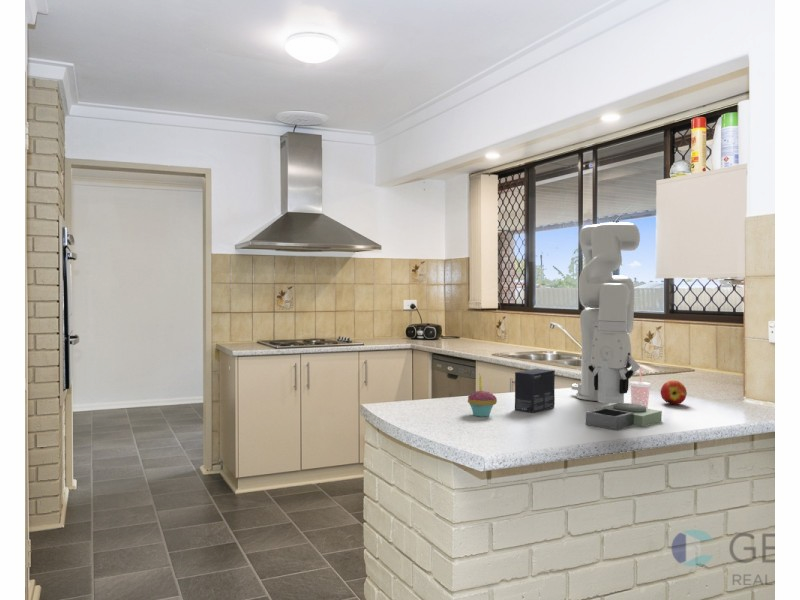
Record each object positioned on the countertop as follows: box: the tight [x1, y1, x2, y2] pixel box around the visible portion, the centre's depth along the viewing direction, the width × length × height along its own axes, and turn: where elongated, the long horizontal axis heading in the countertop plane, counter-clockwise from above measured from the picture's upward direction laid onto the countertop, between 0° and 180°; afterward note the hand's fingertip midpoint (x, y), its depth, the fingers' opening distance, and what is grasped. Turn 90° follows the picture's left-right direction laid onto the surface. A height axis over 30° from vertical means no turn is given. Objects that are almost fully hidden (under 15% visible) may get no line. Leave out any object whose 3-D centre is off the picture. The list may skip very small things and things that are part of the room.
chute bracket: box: [585, 408, 634, 431], centre depth 178 cm, size 9×10×4 cm
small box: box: [514, 368, 556, 414], centre depth 199 cm, size 13×7×12 cm, turn 137°
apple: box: [660, 379, 688, 405], centre depth 213 cm, size 8×8×8 cm
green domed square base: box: [595, 402, 663, 428], centre depth 185 cm, size 14×12×4 cm
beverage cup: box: [629, 366, 652, 409], centre depth 198 cm, size 6×6×14 cm
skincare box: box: [597, 360, 625, 404], centre depth 177 cm, size 6×4×12 cm
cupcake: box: [467, 373, 498, 418], centre depth 188 cm, size 9×8×12 cm
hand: (610, 391), depth 177 cm, fingers closed on skincare box, 6 cm apart
